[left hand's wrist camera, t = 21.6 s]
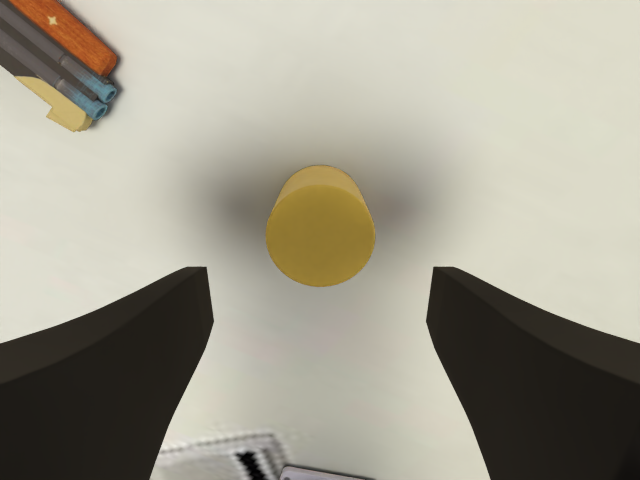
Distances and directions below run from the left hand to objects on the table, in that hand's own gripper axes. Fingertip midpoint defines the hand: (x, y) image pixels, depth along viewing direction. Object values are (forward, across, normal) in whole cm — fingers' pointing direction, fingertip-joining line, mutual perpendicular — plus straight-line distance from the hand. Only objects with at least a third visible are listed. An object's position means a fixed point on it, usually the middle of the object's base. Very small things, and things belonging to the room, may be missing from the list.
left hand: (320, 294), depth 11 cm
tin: (+9, 0, 0) cm, 9 cm away
